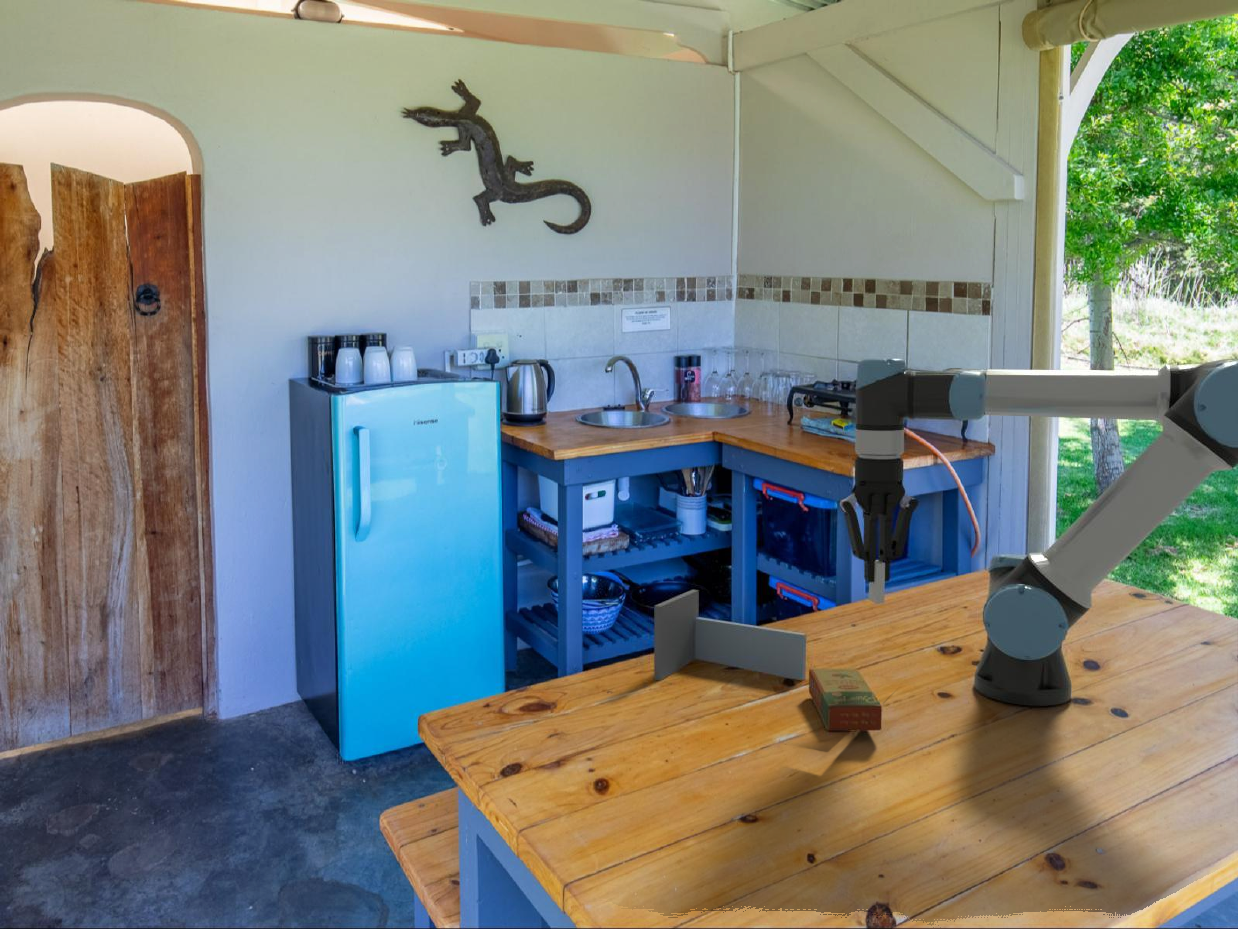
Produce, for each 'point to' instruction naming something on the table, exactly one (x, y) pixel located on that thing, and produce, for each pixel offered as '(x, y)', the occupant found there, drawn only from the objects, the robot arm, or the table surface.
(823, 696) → the carton
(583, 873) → the table surface
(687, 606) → the grey perpendicular panels
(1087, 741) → the table surface
